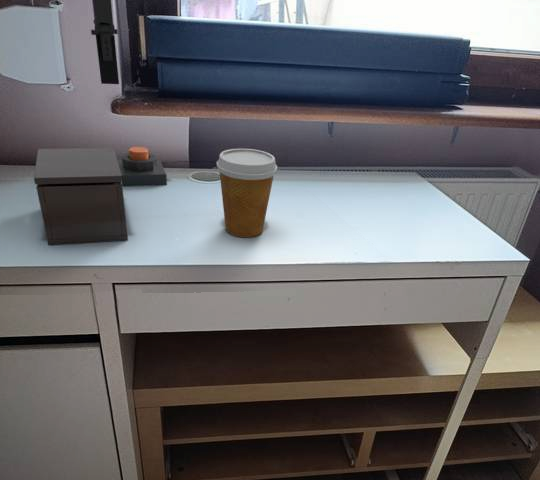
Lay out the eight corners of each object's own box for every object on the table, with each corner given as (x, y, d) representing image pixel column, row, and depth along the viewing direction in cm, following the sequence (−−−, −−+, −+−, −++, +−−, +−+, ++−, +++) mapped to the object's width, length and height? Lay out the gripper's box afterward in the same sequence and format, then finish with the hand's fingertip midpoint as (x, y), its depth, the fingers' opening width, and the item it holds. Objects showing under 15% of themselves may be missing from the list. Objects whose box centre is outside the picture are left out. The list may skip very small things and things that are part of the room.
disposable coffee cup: (260, 216, 90) (265, 146, 83) (280, 239, 83) (287, 165, 76) (209, 220, 87) (209, 148, 80) (225, 244, 80) (226, 167, 73)
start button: (128, 156, 100) (128, 146, 99) (147, 155, 101) (146, 146, 100) (130, 161, 97) (129, 152, 96) (149, 161, 98) (149, 152, 97)
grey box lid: (122, 182, 72) (121, 175, 72) (34, 184, 69) (33, 177, 69) (114, 153, 84) (113, 147, 83) (39, 154, 81) (38, 148, 80)
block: (115, 169, 104) (113, 149, 101) (159, 168, 106) (158, 149, 104) (119, 186, 96) (117, 165, 94) (167, 185, 99) (166, 164, 97)
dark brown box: (128, 240, 79) (122, 184, 73) (48, 245, 75) (36, 186, 70) (120, 205, 89) (114, 153, 84) (50, 208, 86) (39, 154, 81)
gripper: (120, -121, 62) (137, 92, 77) (115, -111, 72) (131, 76, 86) (56, -129, 60) (85, 90, 75) (59, -118, 70) (85, 74, 84)
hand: (110, 82), depth 80 cm, fingers closed
